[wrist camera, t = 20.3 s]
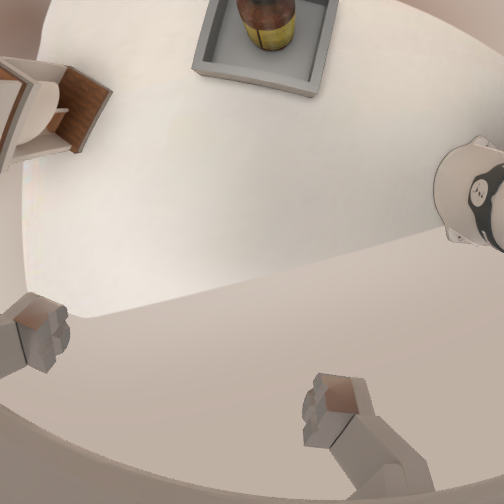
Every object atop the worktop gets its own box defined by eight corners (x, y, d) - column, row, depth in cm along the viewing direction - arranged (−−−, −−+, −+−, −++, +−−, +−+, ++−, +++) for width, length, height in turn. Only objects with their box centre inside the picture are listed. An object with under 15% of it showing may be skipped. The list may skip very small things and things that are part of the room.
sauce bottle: (300, 24, 35) (316, -40, 17) (282, 59, 38) (288, 11, 19) (257, 8, 35) (244, -62, 16) (239, 43, 37) (213, -13, 19)
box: (333, 4, 34) (341, -11, 29) (311, 97, 40) (317, 93, 35) (226, -16, 34) (220, -33, 29) (201, 75, 40) (191, 68, 35)
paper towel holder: (81, 152, 45) (-103, 213, 13) (43, 124, 44) (-128, 161, 11) (113, 91, 41) (-85, 88, 9) (71, 66, 40) (-108, 56, 7)
